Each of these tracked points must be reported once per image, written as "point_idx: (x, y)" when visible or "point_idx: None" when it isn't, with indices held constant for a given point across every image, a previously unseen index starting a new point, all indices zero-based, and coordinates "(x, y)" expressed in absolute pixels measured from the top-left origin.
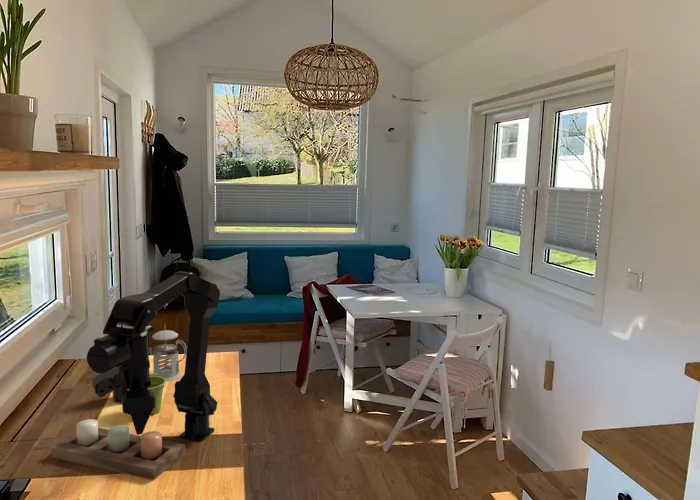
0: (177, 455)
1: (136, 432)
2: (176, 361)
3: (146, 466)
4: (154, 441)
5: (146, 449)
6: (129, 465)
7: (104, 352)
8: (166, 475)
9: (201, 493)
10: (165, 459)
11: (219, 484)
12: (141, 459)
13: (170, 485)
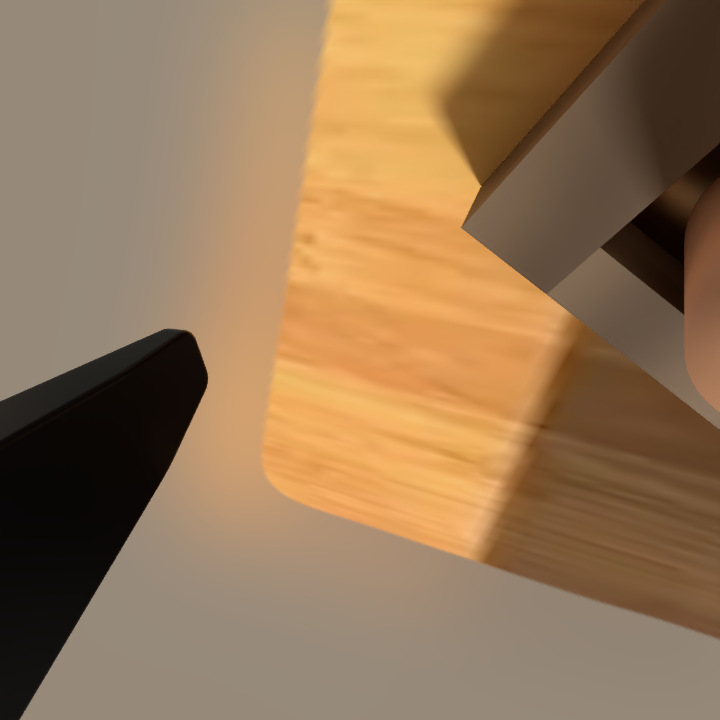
0: None
1: (132, 345)
2: None
3: (526, 180)
4: (686, 349)
5: (711, 234)
6: (642, 22)
7: None
8: None
9: (280, 382)
10: (589, 322)
11: (342, 459)
12: (689, 146)
13: (385, 271)
